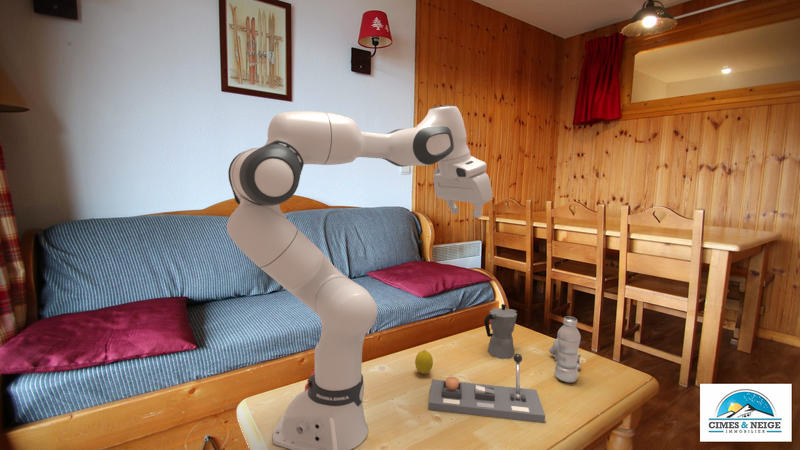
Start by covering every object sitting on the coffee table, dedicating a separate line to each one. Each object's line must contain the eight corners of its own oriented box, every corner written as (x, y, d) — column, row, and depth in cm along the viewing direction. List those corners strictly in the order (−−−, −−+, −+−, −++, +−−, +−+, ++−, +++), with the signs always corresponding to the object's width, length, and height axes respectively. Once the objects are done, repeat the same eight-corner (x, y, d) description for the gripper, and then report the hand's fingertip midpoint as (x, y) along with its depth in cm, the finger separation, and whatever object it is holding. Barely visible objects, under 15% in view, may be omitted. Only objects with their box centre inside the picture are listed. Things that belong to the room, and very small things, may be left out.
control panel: (428, 409, 103) (428, 397, 103) (431, 385, 115) (432, 374, 114) (544, 422, 99) (545, 409, 98) (535, 396, 110) (536, 384, 110)
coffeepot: (503, 343, 144) (506, 297, 142) (523, 353, 136) (527, 305, 134) (473, 353, 136) (475, 304, 133) (492, 364, 128) (495, 313, 126)
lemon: (431, 379, 118) (432, 355, 117) (413, 377, 119) (414, 353, 118) (433, 370, 123) (434, 347, 122) (416, 368, 124) (417, 345, 123)
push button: (445, 389, 106) (445, 382, 106) (445, 382, 110) (446, 375, 109) (458, 390, 106) (458, 384, 105) (458, 383, 109) (458, 377, 109)
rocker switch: (475, 392, 106) (476, 388, 106) (475, 388, 108) (475, 385, 108) (493, 397, 105) (494, 393, 105) (492, 392, 107) (493, 389, 107)
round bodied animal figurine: (564, 378, 125) (572, 360, 121) (545, 350, 135) (552, 332, 131) (583, 376, 127) (592, 358, 123) (563, 348, 137) (570, 330, 133)
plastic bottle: (573, 388, 115) (578, 324, 112) (550, 379, 119) (555, 318, 117) (580, 379, 120) (585, 318, 117) (558, 372, 124) (563, 313, 121)
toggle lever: (514, 398, 104) (514, 353, 107) (512, 397, 106) (512, 353, 110) (523, 399, 104) (522, 354, 107) (521, 398, 106) (521, 353, 109)
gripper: (424, 169, 109) (435, 214, 113) (472, 171, 92) (483, 224, 96) (441, 163, 112) (451, 207, 116) (491, 163, 94) (501, 215, 99)
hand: (466, 215), depth 106 cm, fingers open, 8 cm apart
